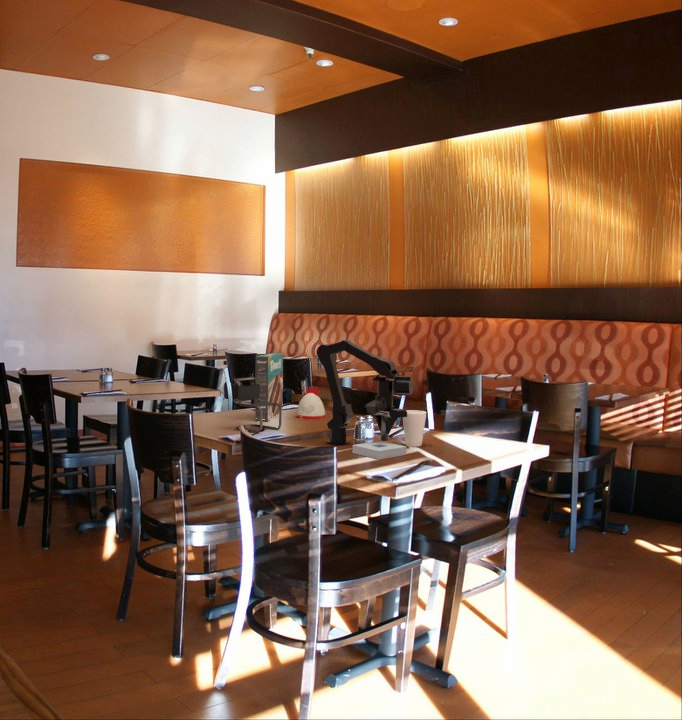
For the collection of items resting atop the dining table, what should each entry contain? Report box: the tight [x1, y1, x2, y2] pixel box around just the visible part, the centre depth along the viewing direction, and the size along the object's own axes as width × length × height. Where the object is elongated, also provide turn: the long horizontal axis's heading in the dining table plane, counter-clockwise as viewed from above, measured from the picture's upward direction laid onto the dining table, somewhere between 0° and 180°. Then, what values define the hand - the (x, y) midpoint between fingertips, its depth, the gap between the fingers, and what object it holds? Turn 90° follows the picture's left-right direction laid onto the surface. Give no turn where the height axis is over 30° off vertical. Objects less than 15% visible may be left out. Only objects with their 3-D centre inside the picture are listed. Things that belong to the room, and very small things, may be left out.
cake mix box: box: [254, 352, 284, 423], centre depth 360 cm, size 22×6×30 cm, turn 167°
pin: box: [380, 414, 390, 442], centre depth 293 cm, size 3×3×10 cm
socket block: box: [352, 440, 408, 460], centre depth 281 cm, size 14×14×3 cm
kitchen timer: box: [296, 385, 326, 420], centre depth 366 cm, size 14×14×15 cm
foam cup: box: [402, 409, 427, 448], centre depth 299 cm, size 10×9×13 cm
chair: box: [233, 376, 283, 433], centre depth 328 cm, size 13×17×22 cm
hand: (384, 433), depth 293 cm, fingers closed on pin, 3 cm apart
